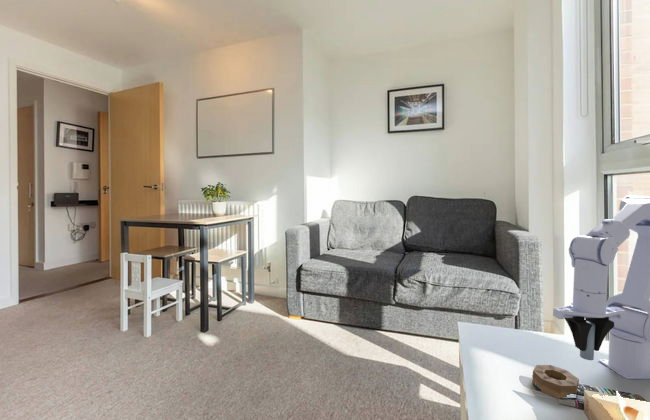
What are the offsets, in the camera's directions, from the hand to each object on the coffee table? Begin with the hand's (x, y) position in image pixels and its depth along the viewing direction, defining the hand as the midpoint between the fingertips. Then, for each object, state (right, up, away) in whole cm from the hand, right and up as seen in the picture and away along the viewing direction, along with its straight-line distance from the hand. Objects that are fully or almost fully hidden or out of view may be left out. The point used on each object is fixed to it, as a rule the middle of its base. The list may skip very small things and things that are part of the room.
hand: (586, 348), depth 71 cm
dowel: (0, -2, 0) cm, 2 cm away
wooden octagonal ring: (-7, -9, +1) cm, 11 cm away
